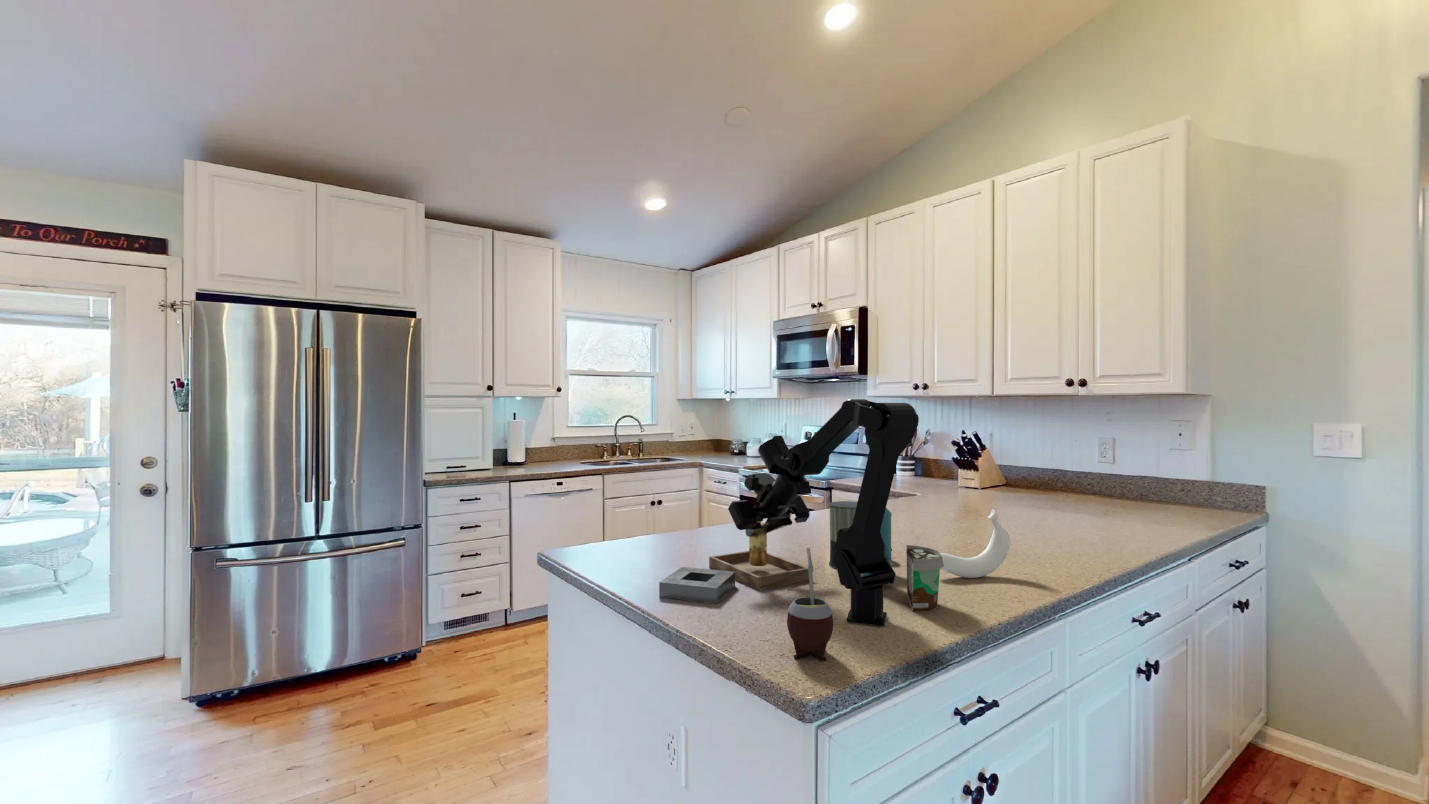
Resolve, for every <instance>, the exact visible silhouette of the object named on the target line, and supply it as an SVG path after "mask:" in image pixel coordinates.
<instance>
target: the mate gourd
mask: <svg viewBox="0 0 1429 804" xmlns="http://www.w3.org/2000/svg"><path fill="white" fill-rule="evenodd" d="M806 554H807V563H808V565H807V567H808V572H809V580H808V582H809V596H804V597H802V596H801V597H798V598H795V599H794V600H793V601H792V602H791V603H790V605H789V607H788V611H787V612H788V613H787V616H786V617H787V618H786V627H787V632H788V634H789V637H790V639H791V640H792V642H793V646H794V651H795V654H794V655H793V658H794V660H796V661H799V660H802V659H805V658H808V657H811V658H814V659H816V660H818V661H820V662H822V663H824V662H826V661H827V656H825V654H826V650H827V646H828V643H829V641H830V640H831V637H832V634H833V631H834V616H833V610H832V608H831V607H830V604H828V602H827V600H826V601H825V600H824V599H822V598H819V597H815V594H814V592H815V591H814V581H813V580H814V576H813V572H814V565H813V562H812V554H811V548H809V547H806Z"/></svg>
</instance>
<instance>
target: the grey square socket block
mask: <svg viewBox="0 0 1429 804" xmlns="http://www.w3.org/2000/svg"><path fill="white" fill-rule="evenodd" d="M658 583H659V586H658V587H659V588H658V590H659V591H658V592H659V595H658V596H659V597H658V598H662V599H670V598H673V599H672V600H678V599H679V601H689V602H696V601H697V603H703V604H704V603H705V604H706V603H707V604H715V605H716V604H718V603H719V602H720V601H722V599H724V597H726V596H727V595H728V594H729V593H730V592H731V591H732V590H733V589H734V588H735V587H736V579H735V572H730V571H720V570H714V569H711V568H710V569H709V568H708V569H707V568H697V567H689V566H688V567H687V566H682V567H680V568H679V569H677V570H676V571H673V573H671V574H670V575H668V576H666V577H665V578H663V579H661V581H659V582H658ZM731 589H732V590H731ZM729 591H730V592H729Z"/></svg>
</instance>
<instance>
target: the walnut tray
mask: <svg viewBox="0 0 1429 804" xmlns="http://www.w3.org/2000/svg"><path fill="white" fill-rule="evenodd" d="M708 563H709V565H708V569H709V568H710V569H711V570H720V571H730V572H735V581H738V582H739V583H742V584H744V585H747V586H749V587H751V588H754V589H755V590H757V591H759V590H764V589H768V588H769V589H770V588H774V587H781V586H785V585H790V584H796V583H801V582H807V581H809V572H808V566H806V565H803V564H800V563H798V562H794V561H791V560H789V559H785V558H783V557H780V556H777V555H775V554H772V553H769V552H767V565H765V566H752V565H750V564H749V550H744V551H739V552H738V551H737V552H732V553H726V554H725V553H724V554H718V555H712V556H708Z"/></svg>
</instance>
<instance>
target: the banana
mask: <svg viewBox="0 0 1429 804" xmlns="http://www.w3.org/2000/svg"><path fill="white" fill-rule="evenodd" d="M987 518H988V519H989V520H990V521H991V523H992V524H993V525H992V526H993V532H992V535H991V536H990V537H991V538H990V540H989V543H988V545H987V546H986V548H985V549H984V550H983V551H982V552H981V553H980V554H978V555H976V556H973V557H960V556H956V555H952V554H949V553H944V552H940V554H941V556H942V559H943V563H944V566H943V567H942V568H940V570H941V571H944V572H947V573H948V574H951V575H954V576H957V577H960V578H961V577H962V578H966V579H975V578H976V579H977V578H983V577H985V576H987V575H990V574H992V573H993V572H995V571H996V570H998V568H999V567H1000V566H1001V565H1002V564H1003V563H1004V562H1005V560H1006V558H1007V556H1008V553H1010V552H1009V551H1010V548H1011V537H1010V534H1009V532H1008V531H1007V530H1006V529H1005V528H1004V527H1003V526H1002V524H1001V523H1000V521H999V519H998V513H997V511H996V510H995V509H994V508H991V512H990V514H989V515H988V516H987Z"/></svg>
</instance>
